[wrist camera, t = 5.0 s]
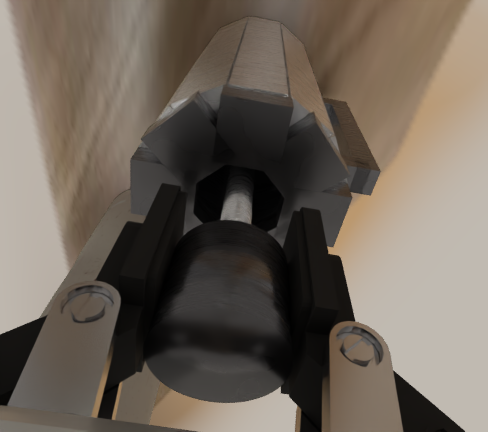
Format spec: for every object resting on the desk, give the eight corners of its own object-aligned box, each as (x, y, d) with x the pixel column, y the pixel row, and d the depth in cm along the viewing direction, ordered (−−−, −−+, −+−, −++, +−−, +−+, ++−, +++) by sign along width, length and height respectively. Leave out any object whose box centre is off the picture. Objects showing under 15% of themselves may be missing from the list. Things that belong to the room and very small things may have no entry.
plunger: (218, 50, 22) (106, 264, 7) (298, 65, 22) (357, 305, 7) (208, 127, 24) (113, 403, 10) (281, 140, 24) (297, 429, 10)
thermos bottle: (214, 245, 35) (104, 813, 12) (140, 269, 37) (-73, 788, 14) (168, 172, 31) (-126, 813, 8) (89, 205, 33) (-320, 778, 10)
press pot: (205, 7, 24) (128, 75, 11) (352, 36, 25) (446, 134, 11) (194, 121, 28) (129, 268, 15) (320, 143, 29) (361, 305, 16)
